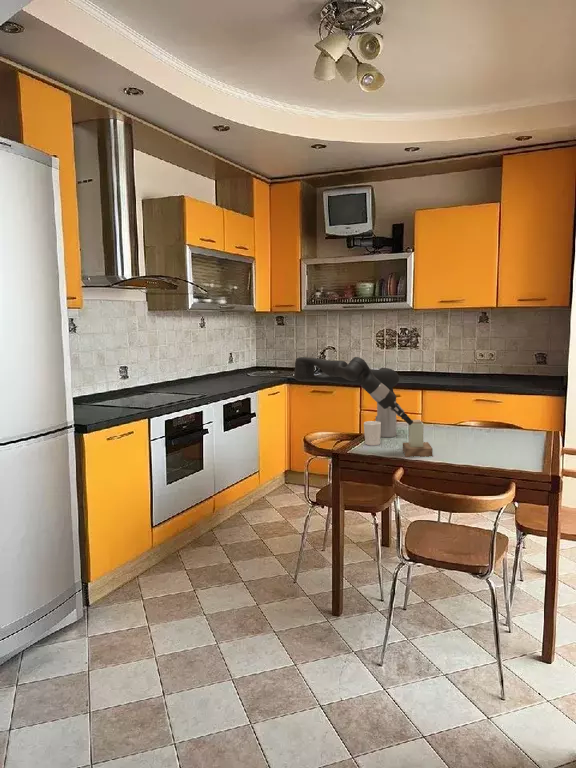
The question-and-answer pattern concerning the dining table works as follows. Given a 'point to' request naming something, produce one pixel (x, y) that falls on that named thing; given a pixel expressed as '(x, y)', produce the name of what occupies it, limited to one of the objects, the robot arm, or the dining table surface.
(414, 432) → the canister
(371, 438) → the white cup
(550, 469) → the dining table surface
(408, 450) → the walnut block
